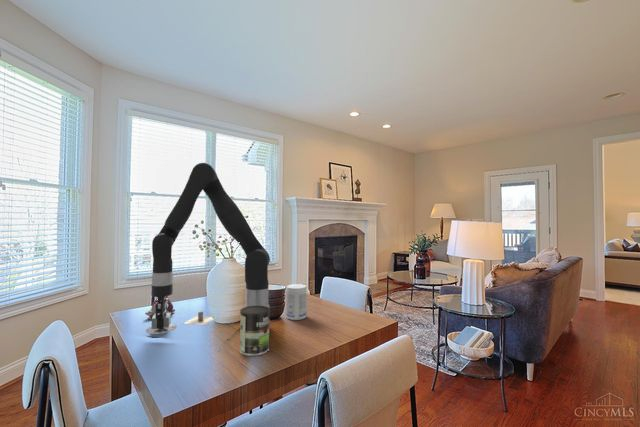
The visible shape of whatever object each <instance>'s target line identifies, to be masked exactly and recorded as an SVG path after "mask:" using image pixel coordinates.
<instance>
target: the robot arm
mask: <svg viewBox="0 0 640 427" xmlns="http://www.w3.org/2000/svg"><path fill="white" fill-rule="evenodd" d="M202 192H203V193H205V195H206V196H207V198H208V199H209V200H210V202H211V205H212V207H213V209H214V212H215V215H216V216H217V218H218V220H219V222H220V223H221V225H222V226H223V229H225V231H226V232H227V233H228V234H229V235H230V236H231V237H232V238H233V239H234V240H235V241H236V242H237V243H238V244H239V246H240V247H241V248H242V250H243V252H244V254H245V259H244V260H245V262H244V282H245V307H249V306H265V307H268V308H270V306H271V305H270V304H269V277H268V275H269V274H268V266H269V265H270V261H271V257H270V254H269V253H268V251H267V250H266V248H264V246H263V245H262V243H261V242H260V241H259V240H258V239H257V237H256V236H255V234H254V231H253V230H252V228H251V227H250V225H249V222H248V221H247V219H246V218H245V216H244V214H243V213H242V211H241V210H240V208H239V207H238V205H237V204H236V203H235V201H234V200H233V198H231V197H230V196H229V195H228V193H227V192H226V190H225V189H224V187H223V185H222V183H221V181H220V179H219V177H218V174H217V172H216V170H215V169H214V167H213V166H212V165H210V164H209V163H206V162H199V163H197V164H196V165H194V166H193V168H192V170H191V172H190V175H189V176H188V180H187V181H186V184H185V186H184V189H183V190H182V193H181V194H180V196H179V198H178V200H177V201H176V203H175V205H174V206H173V208H172V209H171V211H170V212H169V214H168V216H167V218H166V220H165V222H164V225H163V226H162V228H161V229H160V231H159V233H157V234H156V235H155V236H154V237H153V239H152V243H151V244H152V245H151V251H152V258H153V259H152V276H151V292H150V293H151V296H152V297H154V298H156V299H157V298H158V299H157V301H156V305H155V306H156V317H155V318H156V319H157V329H161V328H163V321H164V313H166V312H167V311H166V310H167V308H168V304H167V303H168V299H169V296H171V295H172V294H173V290H174V288H173V287H174V275H173V258H172V250H173V245H174V244H175V242H176V239H177V238H178V236H179V234H180V233H181V231H182V230H183V228H184V226H185V225H186V223H187V222H188V220H189V219H190V217H191V215H192V213H193V210H194V207H195V204H196V202H197V200H198V198H199V196H200V194H201V193H202ZM239 242H240V243H239ZM167 298H168V299H167ZM159 313H161V315H158V314H159Z"/></svg>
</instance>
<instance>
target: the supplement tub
mask: <svg viewBox="0 0 640 427" xmlns="http://www.w3.org/2000/svg"><path fill="white" fill-rule="evenodd" d="M285 294H286V295H285V302H286V303H285V304H286V305H285V308H286V309H285V310H286V312H285V316H286V319H288V320H291V321H299V320H301V321H302V320H304V319H305V318H306V317H307V312H308V311H307V306H308V305H307V303H308V302H307V296H308V295H307V285H305V284H300V283H293V284H289V285H287V286H286V289H285Z"/></svg>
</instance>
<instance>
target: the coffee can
mask: <svg viewBox="0 0 640 427" xmlns="http://www.w3.org/2000/svg"><path fill="white" fill-rule="evenodd" d="M239 312H240V325H239V326H240V328H239V329H240V331H239V333H240V334H239V353H240V354H241V355H244V356H247V357H257V356H262V355H264V354H266V353H268V352H269V351H270V316H271V315H270V314H271V309H270V308H268V307H265V306H249V307H246V306H245V307H242V308H241V309H240V311H239ZM267 351H268V352H267ZM261 354H262V355H261Z"/></svg>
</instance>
